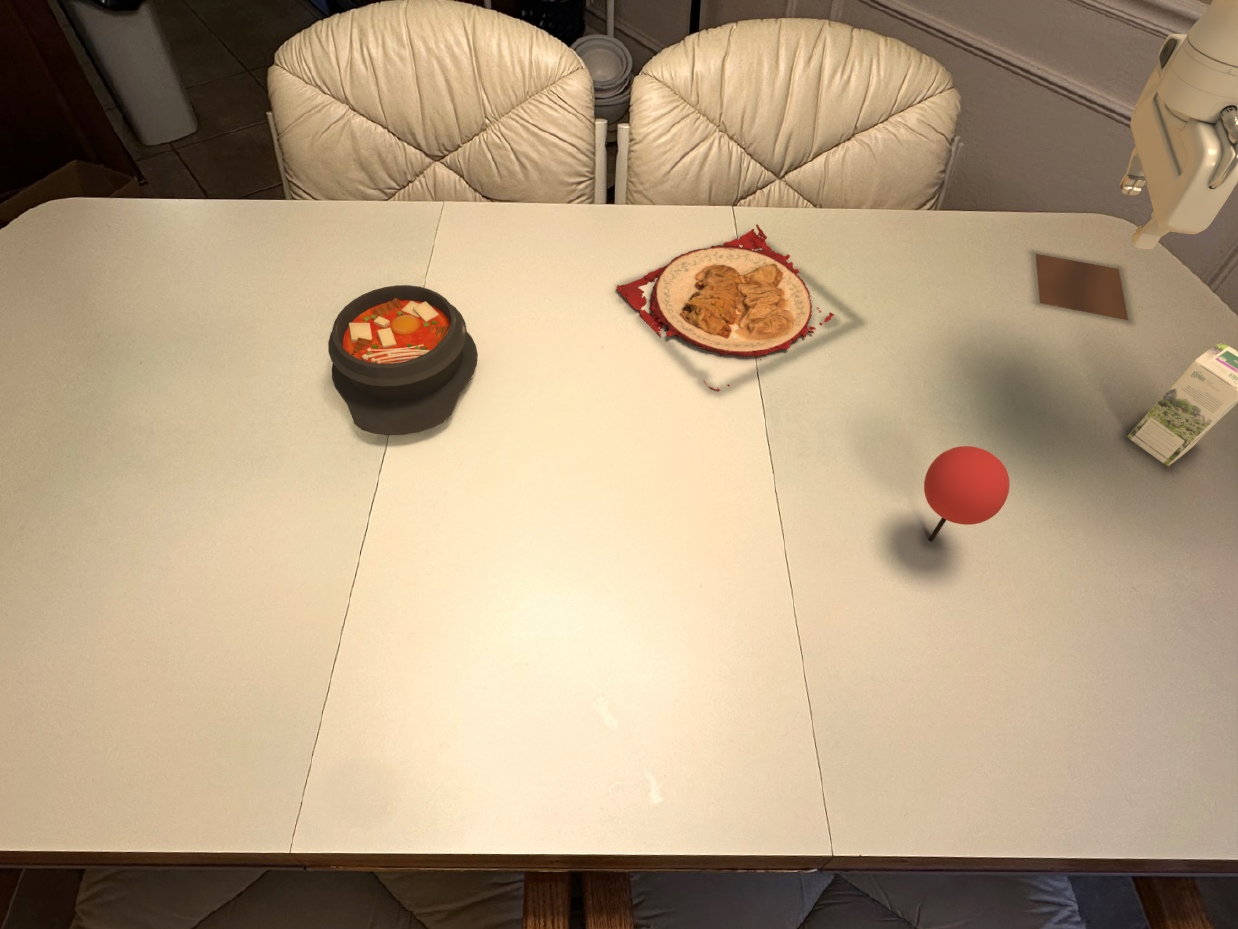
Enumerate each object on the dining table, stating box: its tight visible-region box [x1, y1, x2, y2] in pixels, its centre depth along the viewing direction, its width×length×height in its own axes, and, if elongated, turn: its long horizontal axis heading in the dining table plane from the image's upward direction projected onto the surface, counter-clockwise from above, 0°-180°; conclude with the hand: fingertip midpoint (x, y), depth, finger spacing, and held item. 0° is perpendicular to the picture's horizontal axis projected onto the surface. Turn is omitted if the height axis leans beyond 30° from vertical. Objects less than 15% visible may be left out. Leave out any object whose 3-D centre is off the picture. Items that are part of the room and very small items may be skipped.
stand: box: [1035, 253, 1129, 321], centre depth 110 cm, size 12×12×1 cm
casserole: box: [327, 284, 479, 436], centre depth 94 cm, size 25×19×8 cm
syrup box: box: [1126, 341, 1238, 467], centre depth 87 cm, size 6×6×14 cm
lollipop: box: [923, 445, 1011, 543], centre depth 77 cm, size 8×8×15 cm
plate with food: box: [616, 223, 835, 391], centre depth 105 cm, size 24×26×4 cm
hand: (1134, 217), depth 76 cm, fingers open, 8 cm apart
